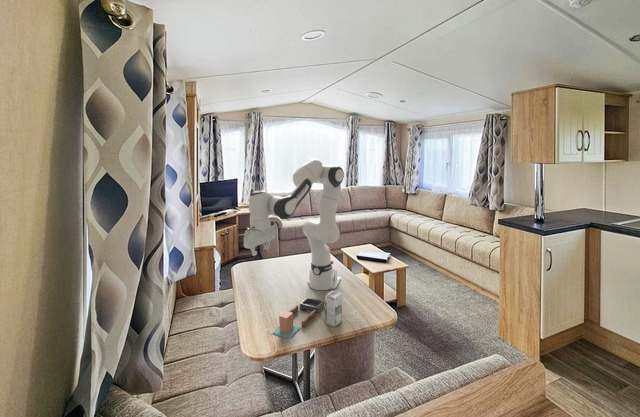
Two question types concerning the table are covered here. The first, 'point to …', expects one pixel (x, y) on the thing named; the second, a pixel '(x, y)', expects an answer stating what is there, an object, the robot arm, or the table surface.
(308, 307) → the tray
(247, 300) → the table surface
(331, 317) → the syrup box
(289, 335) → the mat
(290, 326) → the block
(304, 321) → the parallel wooden rails
